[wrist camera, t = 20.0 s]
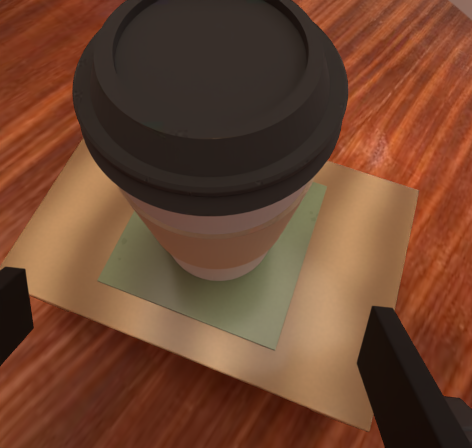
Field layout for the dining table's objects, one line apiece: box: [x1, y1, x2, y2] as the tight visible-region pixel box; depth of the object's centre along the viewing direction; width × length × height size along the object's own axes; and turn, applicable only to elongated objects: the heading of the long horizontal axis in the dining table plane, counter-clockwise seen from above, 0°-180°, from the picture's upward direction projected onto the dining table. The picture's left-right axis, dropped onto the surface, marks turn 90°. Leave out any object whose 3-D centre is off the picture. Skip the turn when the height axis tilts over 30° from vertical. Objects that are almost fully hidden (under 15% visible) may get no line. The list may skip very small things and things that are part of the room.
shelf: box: [0, 138, 419, 432], centre depth 29 cm, size 24×16×9 cm, turn 69°
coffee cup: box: [73, 0, 348, 281], centre depth 18 cm, size 9×9×15 cm
